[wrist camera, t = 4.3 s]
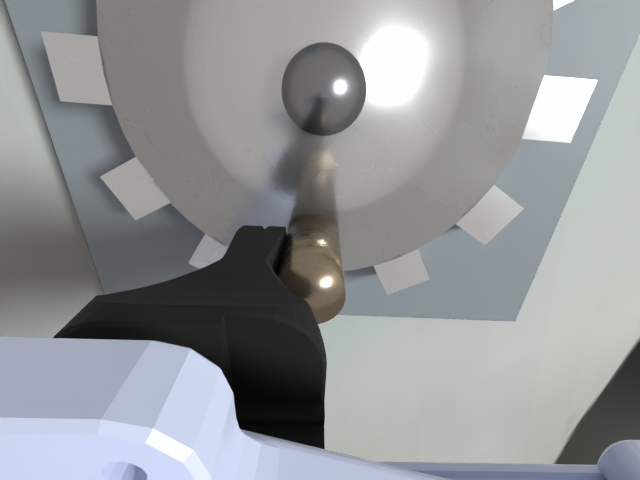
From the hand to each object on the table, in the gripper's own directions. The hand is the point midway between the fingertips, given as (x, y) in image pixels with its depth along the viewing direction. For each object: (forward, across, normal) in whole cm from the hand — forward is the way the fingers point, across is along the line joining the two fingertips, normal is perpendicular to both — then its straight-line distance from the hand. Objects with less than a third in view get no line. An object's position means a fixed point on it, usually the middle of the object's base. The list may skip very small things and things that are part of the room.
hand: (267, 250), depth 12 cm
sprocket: (+2, -2, -5) cm, 6 cm away
